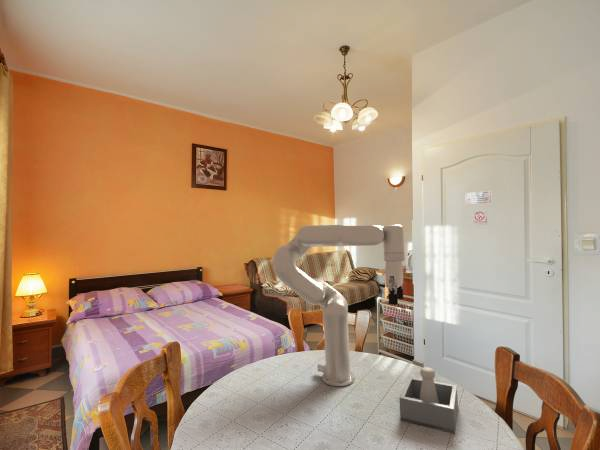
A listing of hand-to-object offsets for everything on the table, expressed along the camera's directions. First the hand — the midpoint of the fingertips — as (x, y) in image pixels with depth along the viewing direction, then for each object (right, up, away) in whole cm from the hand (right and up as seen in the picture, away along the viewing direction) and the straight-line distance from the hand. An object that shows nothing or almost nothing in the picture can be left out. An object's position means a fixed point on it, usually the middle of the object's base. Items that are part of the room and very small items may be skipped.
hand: (396, 301), depth 124 cm
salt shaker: (+4, -29, -22) cm, 37 cm away
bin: (+4, -30, -22) cm, 38 cm away
